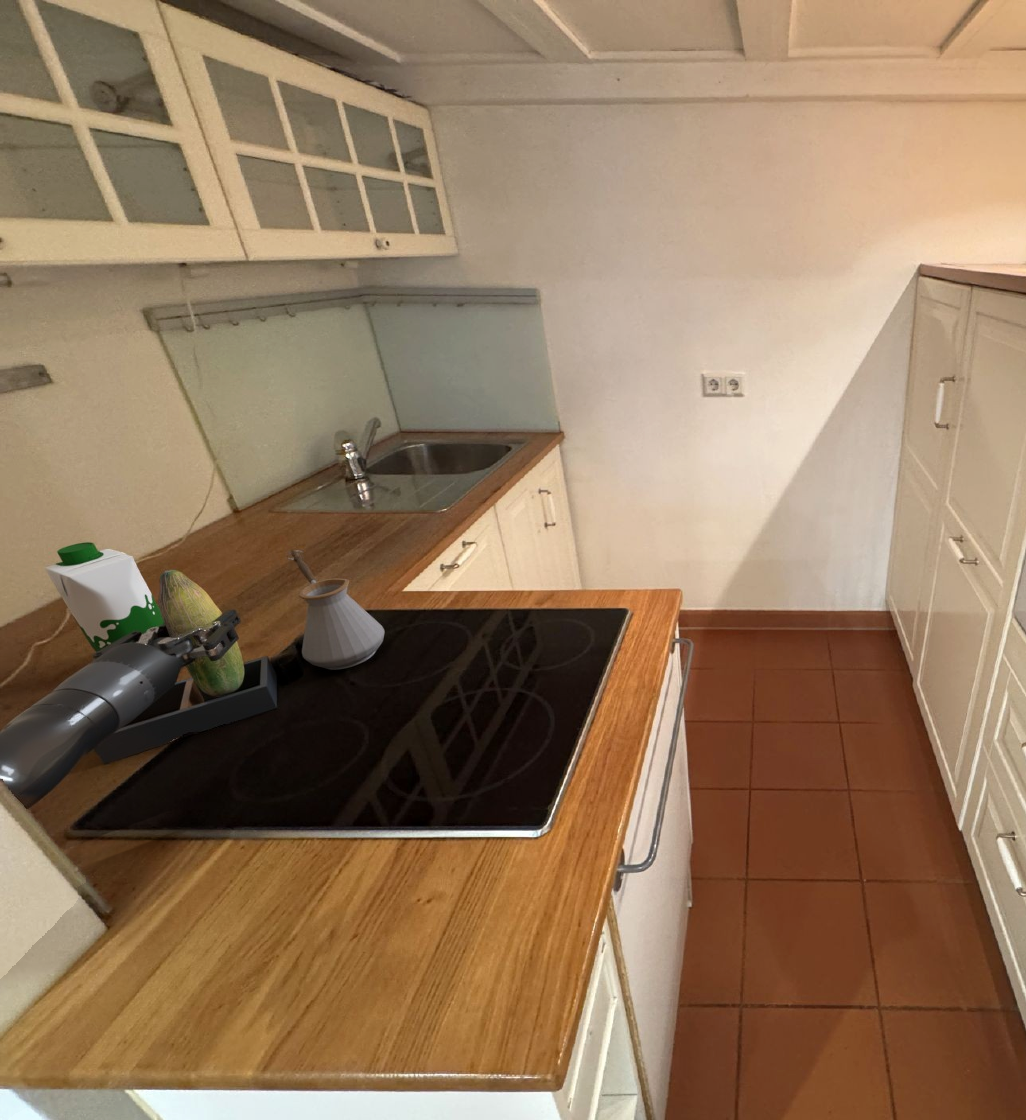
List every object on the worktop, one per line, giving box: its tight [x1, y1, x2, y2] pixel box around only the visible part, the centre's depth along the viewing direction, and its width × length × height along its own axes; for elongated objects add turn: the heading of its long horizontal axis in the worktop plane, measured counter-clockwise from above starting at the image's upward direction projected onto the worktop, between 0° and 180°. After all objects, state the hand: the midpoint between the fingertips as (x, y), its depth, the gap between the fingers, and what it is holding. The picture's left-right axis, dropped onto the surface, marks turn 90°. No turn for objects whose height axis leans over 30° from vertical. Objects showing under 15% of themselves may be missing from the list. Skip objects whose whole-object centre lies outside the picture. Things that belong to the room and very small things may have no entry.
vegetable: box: [157, 569, 244, 698], centre depth 84 cm, size 6×6×20 cm
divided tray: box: [93, 655, 278, 765], centre depth 87 cm, size 18×10×4 cm, turn 126°
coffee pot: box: [286, 549, 386, 671], centre depth 100 cm, size 21×12×15 cm, turn 48°
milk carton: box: [44, 541, 164, 653], centre depth 97 cm, size 9×9×20 cm
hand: (209, 617), depth 86 cm, fingers closed on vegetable, 6 cm apart
